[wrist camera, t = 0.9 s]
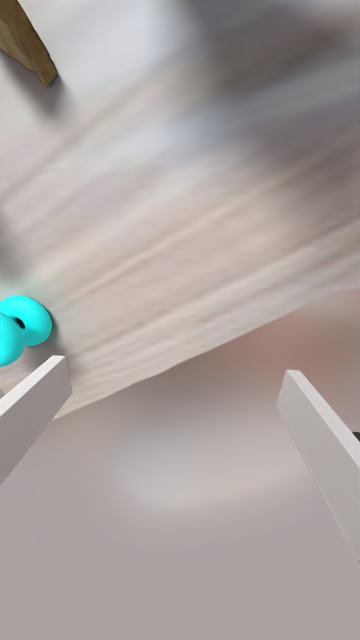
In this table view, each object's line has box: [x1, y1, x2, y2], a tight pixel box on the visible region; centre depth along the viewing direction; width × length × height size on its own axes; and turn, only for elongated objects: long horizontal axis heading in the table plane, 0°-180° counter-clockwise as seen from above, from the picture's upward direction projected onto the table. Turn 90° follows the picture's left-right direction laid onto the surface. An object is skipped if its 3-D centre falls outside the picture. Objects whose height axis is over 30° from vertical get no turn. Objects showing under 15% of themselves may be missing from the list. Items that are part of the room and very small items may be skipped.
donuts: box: [0, 296, 52, 367], centre depth 35 cm, size 10×10×10 cm
